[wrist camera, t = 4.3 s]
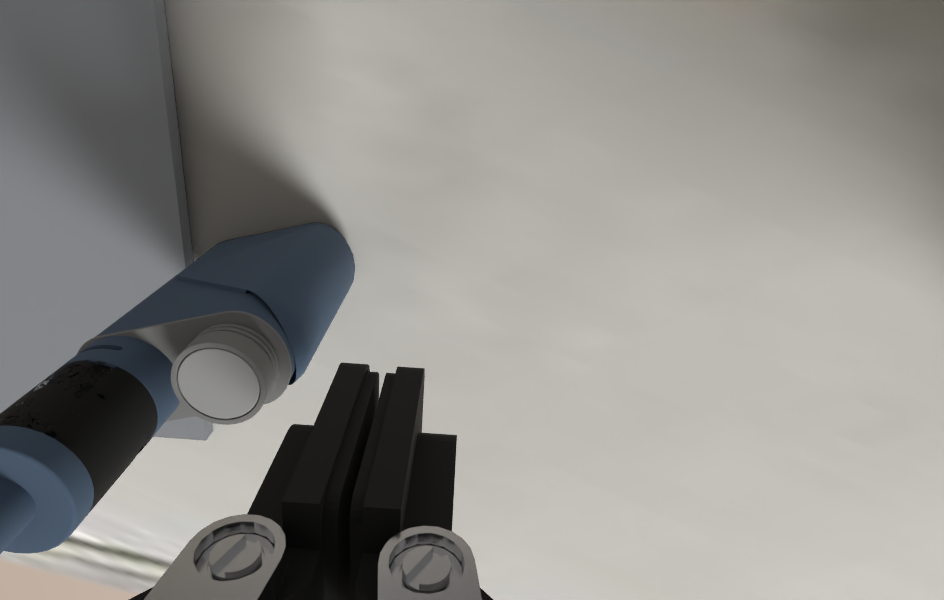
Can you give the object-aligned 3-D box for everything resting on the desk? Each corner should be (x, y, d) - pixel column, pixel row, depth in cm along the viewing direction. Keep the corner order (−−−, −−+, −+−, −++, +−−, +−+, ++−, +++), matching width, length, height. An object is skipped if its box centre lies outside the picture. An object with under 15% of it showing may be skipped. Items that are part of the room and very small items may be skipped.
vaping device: (195, 242, 20) (-163, 491, 9) (347, 211, 19) (169, 435, 8) (223, 312, 21) (-67, 613, 10) (368, 284, 20) (235, 569, 9)
